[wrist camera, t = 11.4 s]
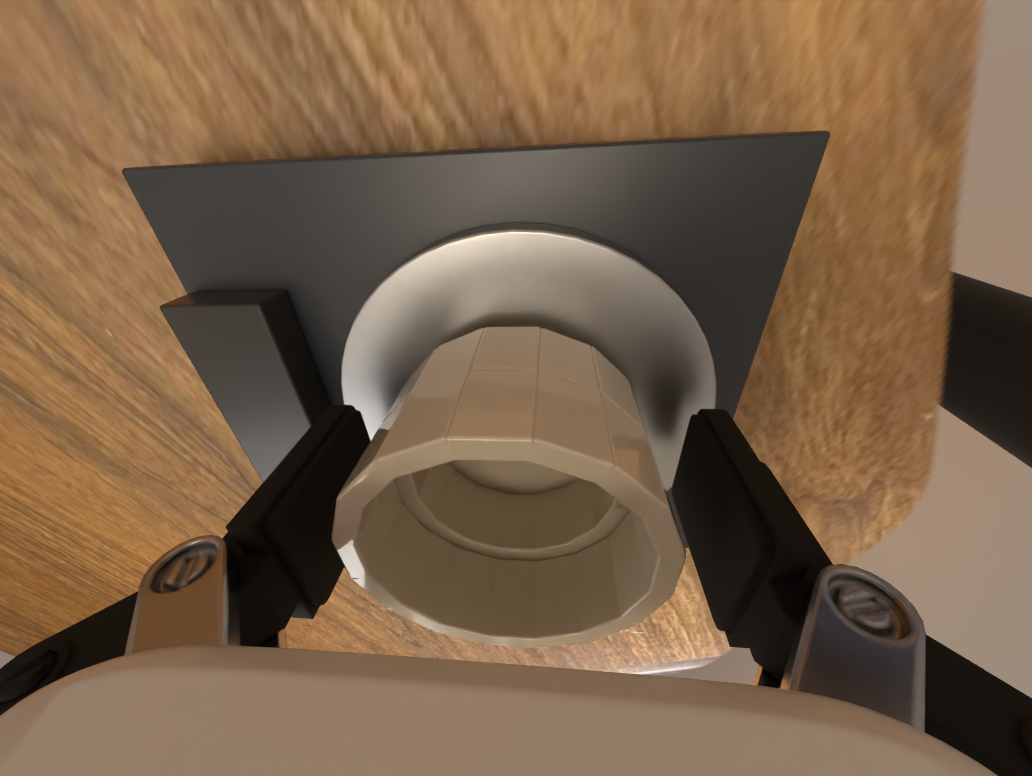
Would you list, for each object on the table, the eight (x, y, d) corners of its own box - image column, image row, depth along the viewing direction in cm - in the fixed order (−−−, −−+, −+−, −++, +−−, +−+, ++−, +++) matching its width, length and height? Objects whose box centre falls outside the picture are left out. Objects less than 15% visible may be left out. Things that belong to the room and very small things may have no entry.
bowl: (653, 315, 9) (727, 442, 5) (622, 503, 13) (652, 657, 9) (383, 319, 10) (275, 434, 6) (428, 496, 13) (380, 638, 10)
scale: (772, 132, 10) (876, 128, 7) (672, 500, 17) (699, 578, 14) (199, 163, 11) (63, 172, 8) (341, 489, 19) (300, 558, 16)
